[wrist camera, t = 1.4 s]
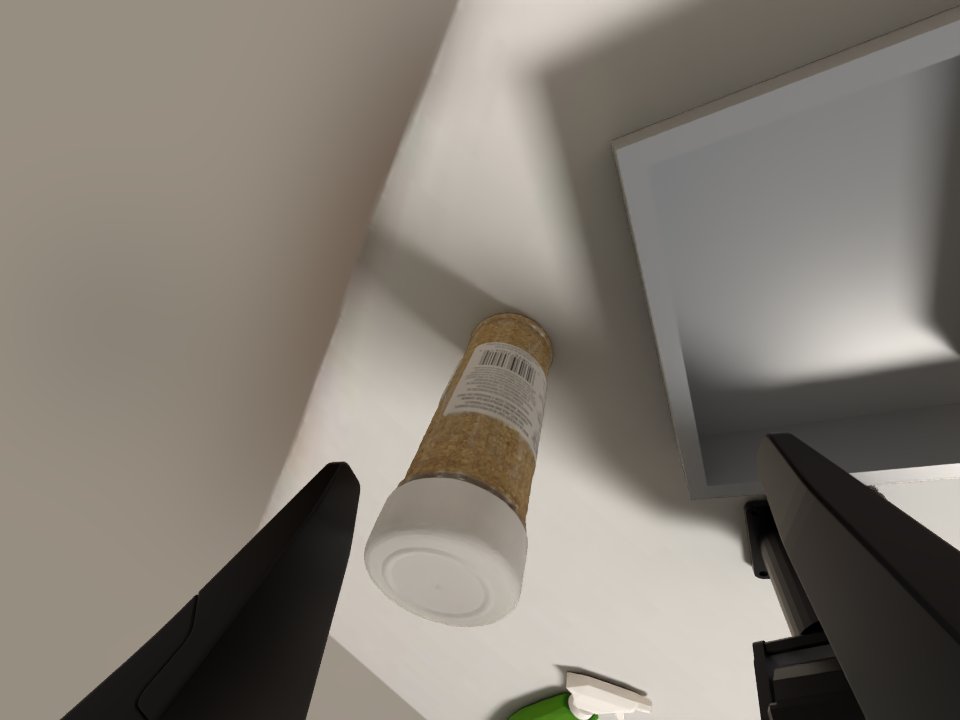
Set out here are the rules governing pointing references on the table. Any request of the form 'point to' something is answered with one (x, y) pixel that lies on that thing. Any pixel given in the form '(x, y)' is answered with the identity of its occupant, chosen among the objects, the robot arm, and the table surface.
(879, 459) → the tote
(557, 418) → the table surface
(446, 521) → the sprinkles bottle
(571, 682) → the spray bottle
